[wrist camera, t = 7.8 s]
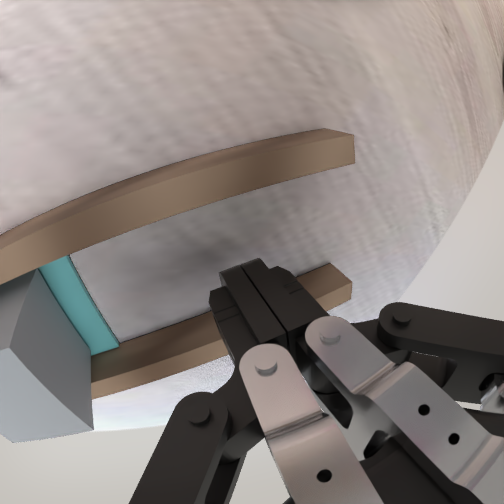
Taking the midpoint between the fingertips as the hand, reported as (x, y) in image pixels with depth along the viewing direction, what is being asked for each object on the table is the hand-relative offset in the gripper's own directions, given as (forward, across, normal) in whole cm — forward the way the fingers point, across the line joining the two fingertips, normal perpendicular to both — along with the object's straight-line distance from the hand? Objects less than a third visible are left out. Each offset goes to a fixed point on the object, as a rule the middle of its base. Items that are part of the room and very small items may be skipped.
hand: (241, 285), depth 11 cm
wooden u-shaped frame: (+3, +4, 0) cm, 5 cm away
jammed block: (+3, +10, 0) cm, 10 cm away
